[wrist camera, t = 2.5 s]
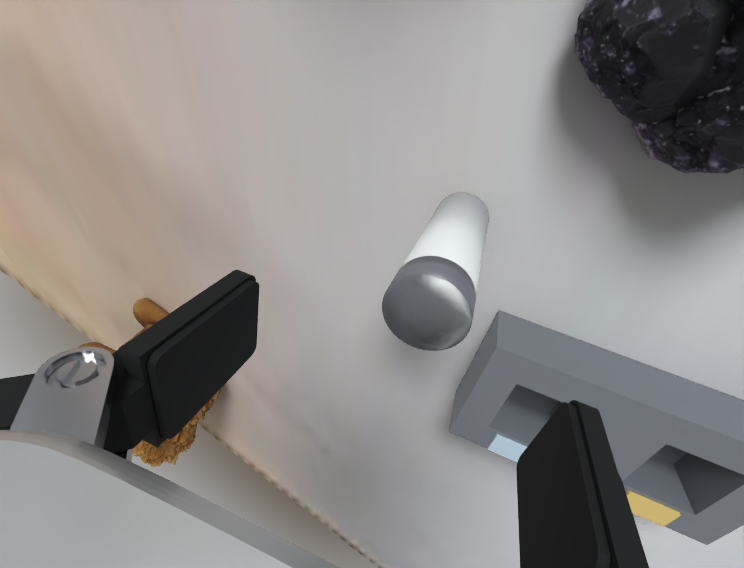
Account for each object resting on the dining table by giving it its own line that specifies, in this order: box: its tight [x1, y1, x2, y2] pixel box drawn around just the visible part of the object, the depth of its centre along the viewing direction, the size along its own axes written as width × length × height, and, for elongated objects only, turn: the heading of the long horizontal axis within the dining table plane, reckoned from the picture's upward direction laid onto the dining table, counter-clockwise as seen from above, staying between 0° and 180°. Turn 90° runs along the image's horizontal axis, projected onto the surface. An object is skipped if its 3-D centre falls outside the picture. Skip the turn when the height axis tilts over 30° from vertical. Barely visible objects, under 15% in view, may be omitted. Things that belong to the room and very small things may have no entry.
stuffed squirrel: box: [77, 298, 220, 466], centre depth 34 cm, size 10×14×13 cm
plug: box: [382, 192, 489, 351], centre depth 17 cm, size 3×3×11 cm
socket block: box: [449, 311, 744, 545], centre depth 23 cm, size 17×8×4 cm, turn 76°
